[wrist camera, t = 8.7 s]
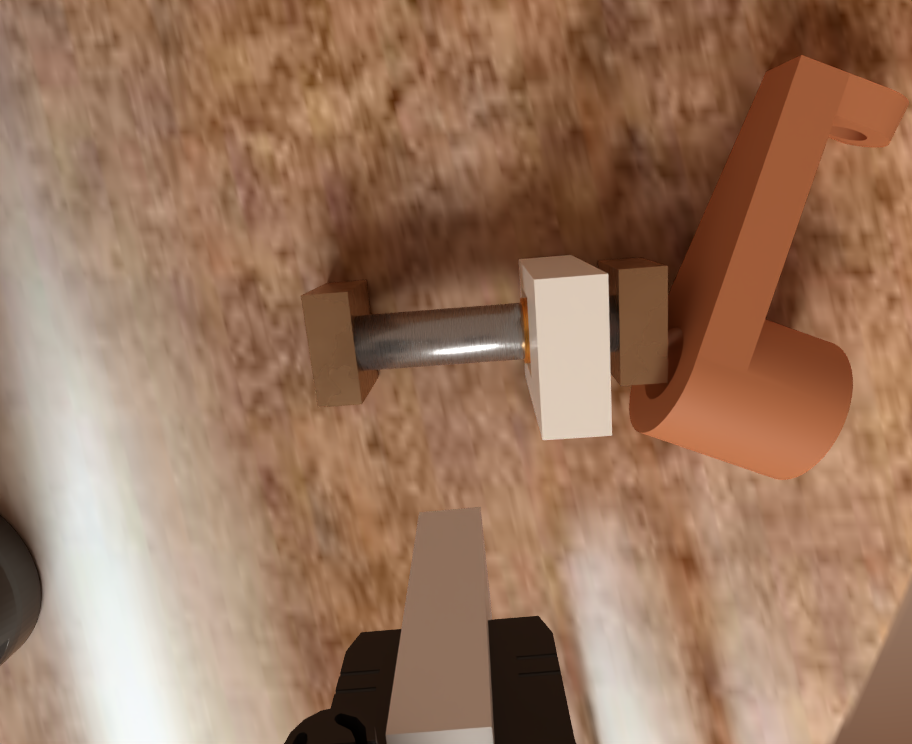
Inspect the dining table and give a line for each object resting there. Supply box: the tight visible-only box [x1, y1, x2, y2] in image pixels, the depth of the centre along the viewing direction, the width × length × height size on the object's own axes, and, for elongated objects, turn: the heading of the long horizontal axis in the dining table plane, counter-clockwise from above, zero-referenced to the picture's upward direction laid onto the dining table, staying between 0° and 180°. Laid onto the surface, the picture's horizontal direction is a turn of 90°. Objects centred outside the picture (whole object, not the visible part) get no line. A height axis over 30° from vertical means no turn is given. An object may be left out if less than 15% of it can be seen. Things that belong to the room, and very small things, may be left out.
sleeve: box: [518, 255, 612, 440], centre depth 31 cm, size 3×7×11 cm, turn 5°
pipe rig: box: [301, 257, 668, 407], centre depth 34 cm, size 18×6×6 cm, turn 95°
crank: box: [629, 55, 909, 480], centre depth 32 cm, size 20×8×8 cm, turn 161°
